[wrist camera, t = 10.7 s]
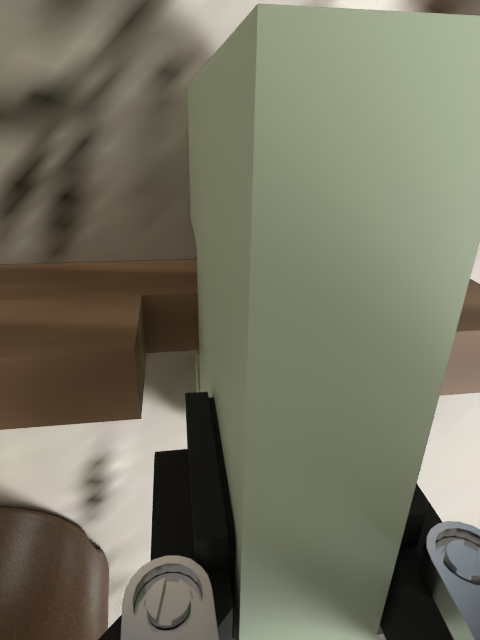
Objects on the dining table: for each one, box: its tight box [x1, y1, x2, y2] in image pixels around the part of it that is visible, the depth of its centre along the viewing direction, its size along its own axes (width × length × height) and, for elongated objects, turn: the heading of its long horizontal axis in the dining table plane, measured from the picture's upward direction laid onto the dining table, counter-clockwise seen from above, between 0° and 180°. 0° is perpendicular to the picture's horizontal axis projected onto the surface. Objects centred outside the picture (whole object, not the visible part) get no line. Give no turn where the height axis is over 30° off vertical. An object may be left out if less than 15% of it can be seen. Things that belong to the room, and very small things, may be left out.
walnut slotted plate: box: [0, 259, 480, 430], centre depth 17 cm, size 2×20×8 cm, turn 89°
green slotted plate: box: [187, 4, 480, 640], centre depth 13 cm, size 16×2×14 cm, turn 179°
